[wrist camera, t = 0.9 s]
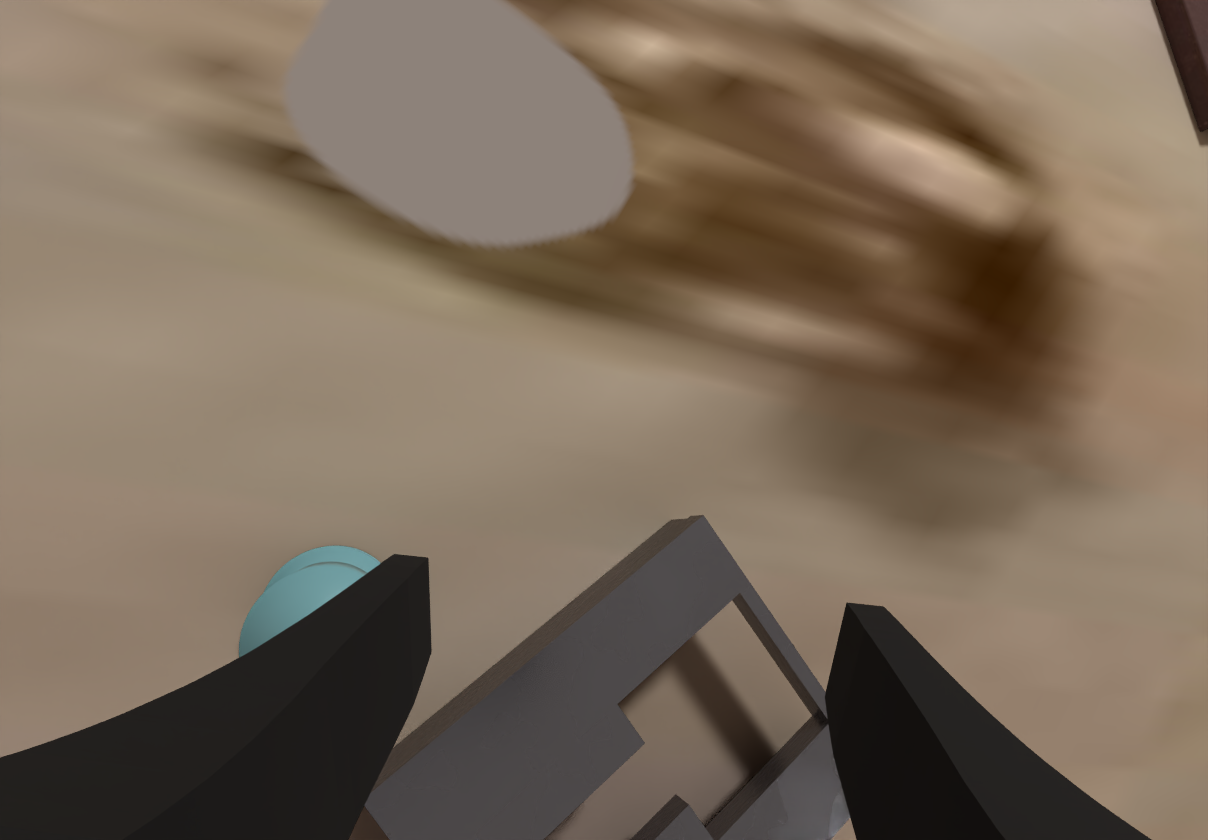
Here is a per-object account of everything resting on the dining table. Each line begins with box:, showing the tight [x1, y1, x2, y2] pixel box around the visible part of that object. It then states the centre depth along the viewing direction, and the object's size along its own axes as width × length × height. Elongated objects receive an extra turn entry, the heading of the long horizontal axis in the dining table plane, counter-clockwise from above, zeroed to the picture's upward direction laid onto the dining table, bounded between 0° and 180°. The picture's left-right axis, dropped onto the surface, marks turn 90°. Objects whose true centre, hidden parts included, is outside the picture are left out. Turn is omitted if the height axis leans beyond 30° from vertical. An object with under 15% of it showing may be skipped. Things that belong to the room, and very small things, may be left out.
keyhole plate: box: [364, 515, 850, 840], centre depth 24 cm, size 13×11×3 cm
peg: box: [239, 546, 381, 657], centre depth 19 cm, size 4×4×7 cm
